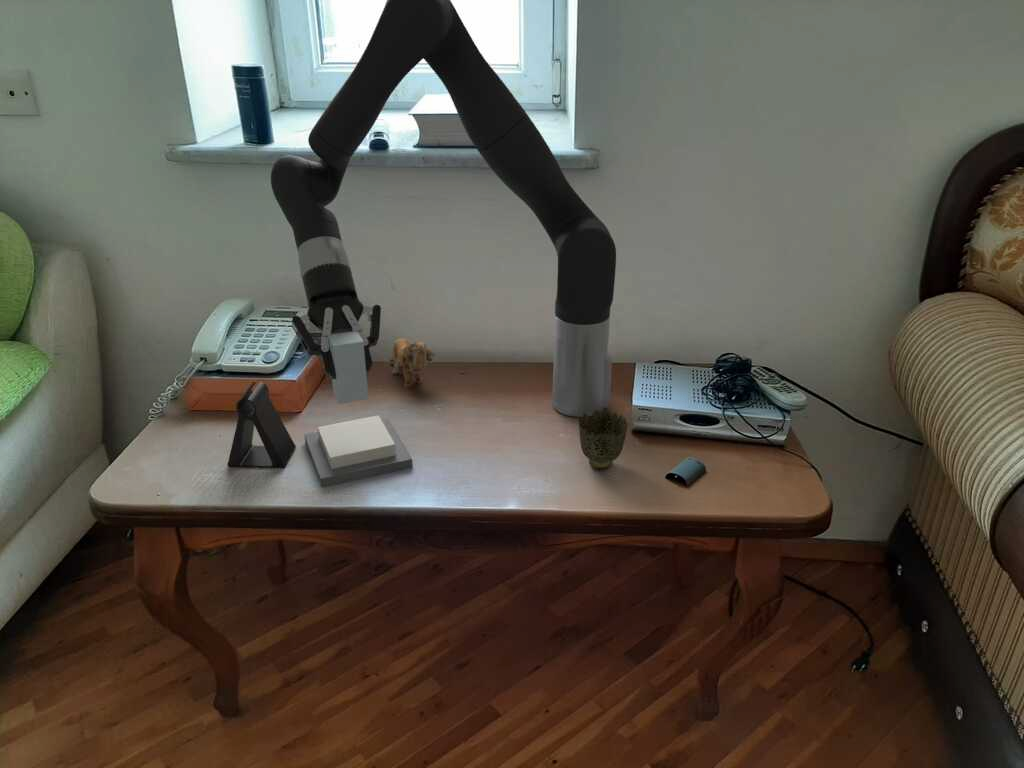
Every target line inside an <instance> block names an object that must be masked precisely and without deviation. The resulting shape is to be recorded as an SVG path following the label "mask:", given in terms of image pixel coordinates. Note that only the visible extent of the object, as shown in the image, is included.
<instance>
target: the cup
mask: <svg viewBox="0 0 1024 768" xmlns="http://www.w3.org/2000/svg"><path fill="white" fill-rule="evenodd" d="M577 422H578V429H579V441H580V442H579V443H580V447H581V451H582V453H583V455H584V456H585V457H586V458H587V459H588V463H589V465H590V466H591V468H592V469H594V470H597V471H607V470H609V469H610V468H611V467H612V465H613V463H614V462H613V461H614V460H616V459H618V458H619V456H620V455H621V453H622V451H623V449H624V445H625V440H626V436H627V430H628V427H629V421H627V418H626V417H624V416H623V414H620V415H619V416H618V412H613V413H612V414H611V412H610V411H609V410H608V409H607V408H604V409H603V410H602V411H601V412H599V411H598V410H594V413H593V415H592V416H590V415H589V416H587V414H586V413H584V414H583V417H581V416H580V417H578V421H577Z"/></svg>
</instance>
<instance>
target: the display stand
mask: <svg viewBox="0 0 1024 768" xmlns="http://www.w3.org/2000/svg"><path fill="white" fill-rule="evenodd" d="M303 436H304V443H305V446H306V447H307V451H308V453H309V454H308V455H310V456H309V457H310V458H311V462H312V465H313V467H314V470H315V473H316V475H317V478H318V481H319V483H320V486H321V488H323V487H328V486H329V487H330V486H333V485H338V484H342V483H347V482H352V481H356V480H361V479H365V478H371V477H374V476H378V475H382V474H388V473H392V472H396V471H397V472H398V471H403V470H406V469H411V468H413V466H414V465H413V458H412V456H411V454H410V453H409V451H408V449H407V448H406V446H405V445H404V443H403V441H402V439H401V437H400V436H399V435H398V433H397V431H396V429H395V427H394V425H393V424H392V423H391V421H390V418H388V417H387V418H386V417H385V418H383V419H381V416H380V415H379V414H377V415H373V416H368V417H363V418H357V419H352V420H347V421H342V422H337V423H331V424H327V425H322V426H317V431H315V432H310V433H304V434H303Z"/></svg>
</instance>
